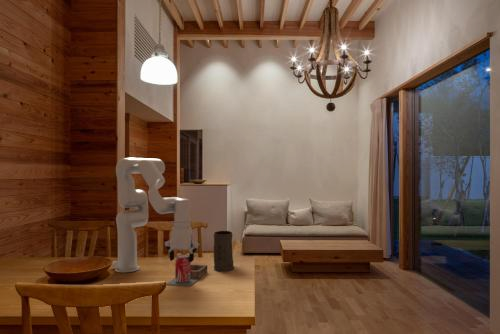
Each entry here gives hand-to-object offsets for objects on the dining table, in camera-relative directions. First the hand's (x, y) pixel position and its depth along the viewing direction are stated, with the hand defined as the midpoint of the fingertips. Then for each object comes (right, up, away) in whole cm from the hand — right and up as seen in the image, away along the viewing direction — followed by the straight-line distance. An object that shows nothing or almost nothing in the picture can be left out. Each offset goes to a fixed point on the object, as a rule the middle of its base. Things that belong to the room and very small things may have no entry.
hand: (181, 260), depth 176 cm
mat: (+1, -10, 0) cm, 10 cm away
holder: (+3, -10, +11) cm, 16 cm away
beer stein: (+19, -11, +25) cm, 33 cm away
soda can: (+1, -10, 0) cm, 10 cm away
